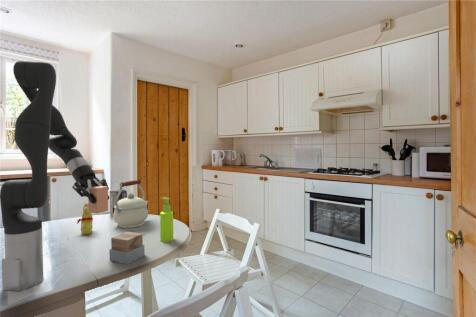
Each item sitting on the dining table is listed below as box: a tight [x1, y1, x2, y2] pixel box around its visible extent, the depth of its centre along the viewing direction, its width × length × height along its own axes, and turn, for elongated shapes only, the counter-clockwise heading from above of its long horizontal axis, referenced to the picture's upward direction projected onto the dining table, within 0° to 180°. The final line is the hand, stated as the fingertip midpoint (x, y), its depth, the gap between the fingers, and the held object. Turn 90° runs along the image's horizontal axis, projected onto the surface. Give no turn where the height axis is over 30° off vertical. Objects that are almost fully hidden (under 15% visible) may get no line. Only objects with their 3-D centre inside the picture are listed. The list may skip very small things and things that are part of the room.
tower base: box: [109, 244, 146, 265], centre depth 101 cm, size 9×9×4 cm
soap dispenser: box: [159, 196, 174, 243], centre depth 121 cm, size 6×7×20 cm
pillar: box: [87, 186, 109, 214], centre depth 104 cm, size 5×5×10 cm
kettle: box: [112, 179, 149, 229], centre depth 147 cm, size 25×18×25 cm
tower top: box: [110, 231, 144, 252], centre depth 101 cm, size 8×8×4 cm
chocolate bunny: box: [76, 203, 94, 235], centre depth 132 cm, size 7×11×15 cm, turn 24°
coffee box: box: [109, 189, 128, 218], centre depth 165 cm, size 9×6×16 cm
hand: (101, 201), depth 103 cm, fingers closed on pillar, 5 cm apart
